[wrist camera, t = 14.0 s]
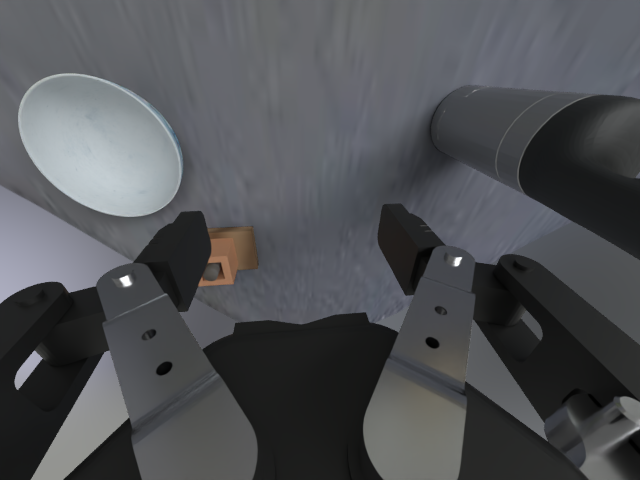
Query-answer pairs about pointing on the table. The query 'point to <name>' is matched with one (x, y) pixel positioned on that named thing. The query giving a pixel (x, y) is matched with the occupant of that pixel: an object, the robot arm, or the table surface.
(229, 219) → the table surface
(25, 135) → the chinaware
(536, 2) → the table surface
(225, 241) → the orange hollow square block
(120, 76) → the table surface
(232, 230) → the shaft block
